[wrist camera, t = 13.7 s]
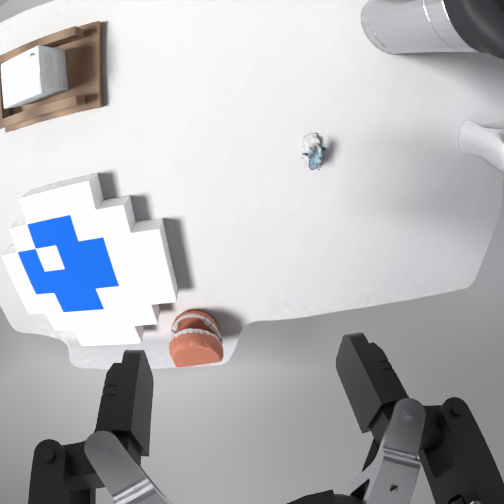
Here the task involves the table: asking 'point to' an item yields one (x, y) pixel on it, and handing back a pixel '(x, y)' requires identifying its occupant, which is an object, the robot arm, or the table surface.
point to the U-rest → (78, 76)
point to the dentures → (195, 340)
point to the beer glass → (483, 143)
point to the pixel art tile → (90, 262)
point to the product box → (33, 76)
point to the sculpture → (312, 151)
